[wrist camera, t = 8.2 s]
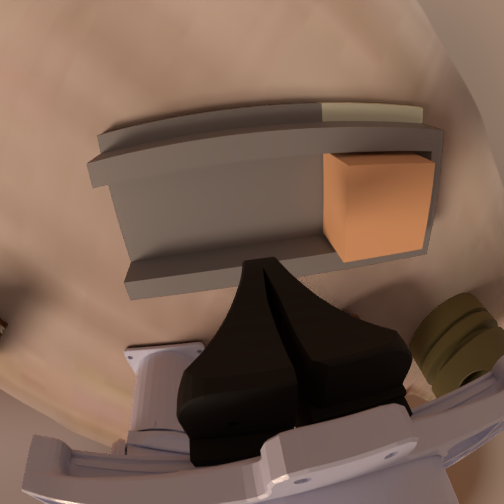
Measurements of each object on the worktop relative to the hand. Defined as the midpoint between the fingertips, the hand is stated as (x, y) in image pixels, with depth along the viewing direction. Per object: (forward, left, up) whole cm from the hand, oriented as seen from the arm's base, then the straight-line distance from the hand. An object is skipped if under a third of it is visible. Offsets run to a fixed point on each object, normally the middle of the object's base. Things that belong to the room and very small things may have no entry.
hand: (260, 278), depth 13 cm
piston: (-20, -24, -10) cm, 33 cm away
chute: (0, -3, -9) cm, 10 cm away
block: (0, -8, -8) cm, 12 cm away
